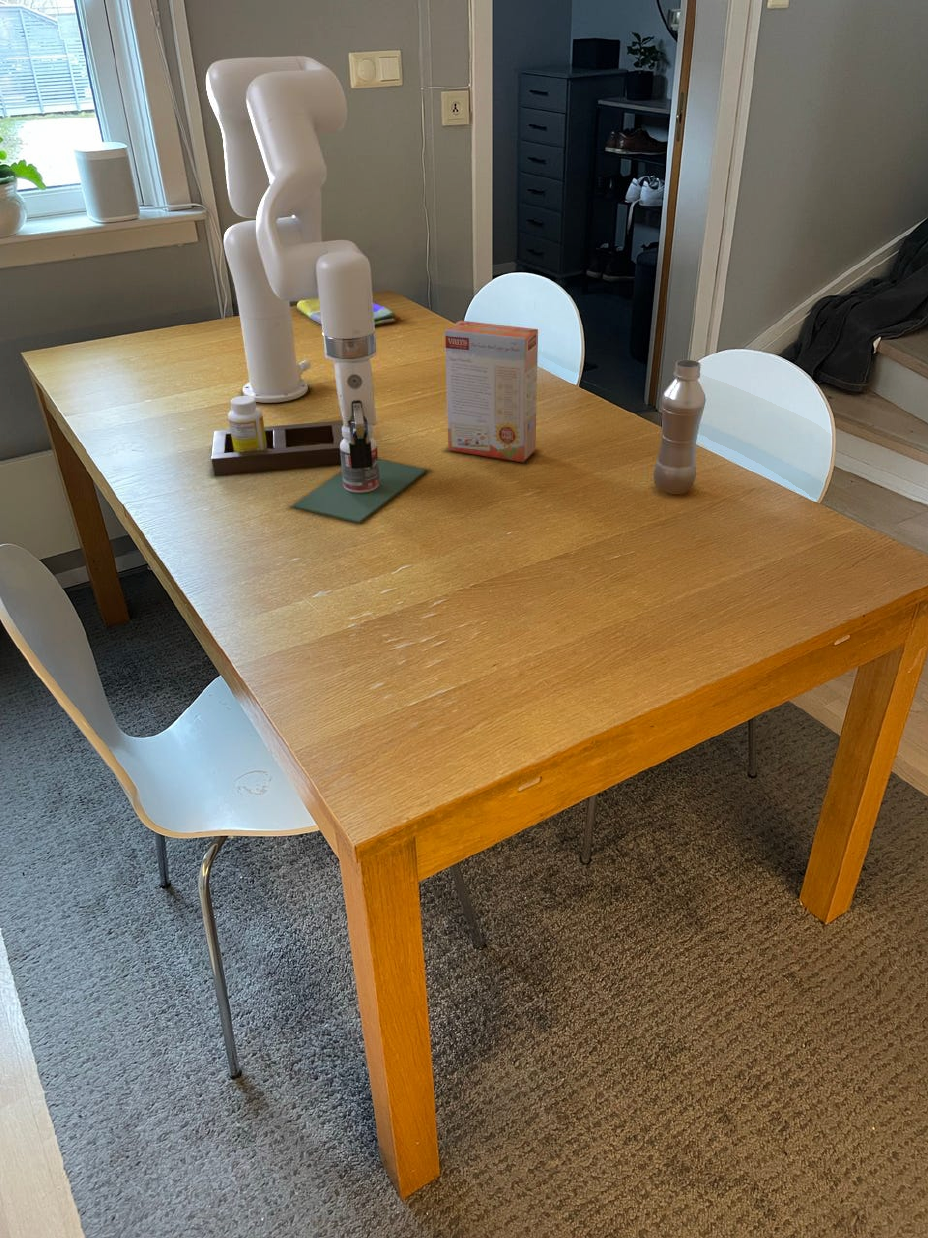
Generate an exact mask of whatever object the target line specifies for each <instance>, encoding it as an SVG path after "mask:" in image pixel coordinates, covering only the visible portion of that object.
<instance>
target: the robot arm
mask: <svg viewBox="0 0 928 1238" xmlns="http://www.w3.org/2000/svg"><path fill="white" fill-rule="evenodd" d="M205 86H206V92H207V97H208V100H209V103H210V106H211V108H212V110H213V112H214V115H215V117H216V119H217V121H218V124H219V127H220V130H221V134H222V139H223V140H222V141H223V151H224V152H223V153H224V163H225V176H226V185H227V195H228V199H229V203H230V206H231V208H232V210H233V212H234V213H235V214H236V215H237V216H240V217H242V218H246V219H254V220H246V221H241V222H238V223H235V224H233V225H231V226H230V227H229V228H228V229H226V231H225V233H224V236H223V248H224V254H225V257H226V261H227V264H228V267H229V271H230V274H231V278H232V282H233V285H234V290H235V291H234V292H235V296H236V300H237V306H238V307H237V308H238V315H239V320H240V326H241V333H242V340H243V347H244V353H245V361H246V367H247V374H248V381H249V382H246V384H245V385H243V387H242V394H243V395H242V396H251V397H253V398H255V402H256V403H262V404H275V403H284V402H285V403H286V402H289V401H293V400H296V399H299V398H301V397H302V396H304V395H306V394H307V393H308V390H309V387H308V383H307V381H305V379H303V378H302V375H303V373H305V372H307V371H309V370H311V367H312V365H311V362H310V361H309V360H307V359H305V360H302V361H301V362H299V363H298V360H297V351H296V344H295V336H294V327H293V318H292V311H291V310H292V309H291V303H290V302H299V301H301V300H308V299H315V298H319V304H320V313H321V323H322V325H321V332H322V342H323V353H324V358H325V359H327V360H329V361H332V362H333V366H334V367H333V368H334V369H333V370H334V377H335V386H336V393H337V400H338V404H339V410H340V413H341V418H342V421H343V425H344V426H346V427H347V428H349V432H350V441H351V443H349V449H350V460H351V468H352V469H358V468H369V467H372V465H373V464H372V451H371V441H369V433H368V424H369V425H372V427H375V426H376V425H377V423H378V422H377V414H376V413H377V411H376V403H375V391H374V379H373V370H372V363H371V359H372V358H374V357H375V356H376V355H377V352H378V351H377V340H376V329H375V326H376V325H374V311H373V302H374V298H373V295H374V294H373V282H372V270H371V263H370V260H369V258H368V257H367V256H366V255H365V254H363V252H362V251H361V250H360V249H359V247H358V246H357V244H356V243H354V242H353V241H351V240H348V239H337V240H335V239H333V240H325V241H323V232H322V231H323V228H322V225H323V224H322V223H323V221H322V218H323V217H322V186H323V185H324V184H325V182H326V180H327V176H328V169H327V164H326V163H325V159H324V156H323V152H322V150H321V146H320V144H319V140H318V137H317V135H329V134H337V133H339V132H341V131H342V130H343V128H344V127H345V126H346V123H347V118H348V103H347V98H346V94H345V91H344V89H343V86H342V84H341V82H340V80H339V79H338V77H337V76H336V74H335V73H334V72H333V71H332V70H331V69H330V68H329V67H327V66H326V65H324V64H323V63H321V62H319V61H318V60H316V59H314V58H312V57H308V56H303V55H295V56H291V55H289V56H288V55H287V56H268V57H267V56H266V57H264V56H256V57H255V56H252V57H236V58H226V59H220V60H217V61H214V62H213V63H211V64H210V66H209V67H208V68H207V71H206V76H205ZM351 422H355V423H351ZM367 422H368V423H367ZM353 429H355V430H356V431H354V433H353Z"/></svg>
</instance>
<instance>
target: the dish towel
mask: <svg viewBox="0 0 928 1238" xmlns="http://www.w3.org/2000/svg"><path fill="white" fill-rule="evenodd" d="M296 308H297V310H299V311H300V312H301V313H302V314H304V315H305V316H307V317H308V318H309V319H310V320H312V321H314V322H315V323H317V324H319V325H321V326H322V323H321V313H320V304H319V298H315V299H308V300H301V301H297V304H296ZM373 311H374V325H375V326H378V325H379V326H380V325H386V324H391V323H394V322H396V320H395V319H394V318H393V317H394V316H395V312H394V311H393V310H391V309H389V308H388V307H385V306H383V305H381V304H378V303H375V302H374V301H373Z"/></svg>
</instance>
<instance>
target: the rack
mask: <svg viewBox="0 0 928 1238" xmlns="http://www.w3.org/2000/svg"><path fill="white" fill-rule="evenodd" d="M343 425H344V422H343V419H341V420H329V421H316V422H303V423H294V424H280V425H279V424H278V425H267V426H264V429H265V435H266V442H267V449H266V450H255V451H243V452H234V447H233V442H232V436H231V430H230V429H221V430H214V433H213V439H212V440H213V441H212V449H211V465H212V470H213V475H214V476H215V477H216V476H227V475H238V474H240V475H241V474H249V473H260V472H273V471H282V470H294V469H307V468H317V467H327V466H328V467H329V466H337V465H338V466H339V465H342V464H341V453H340V443H341V441H342V440H343V439H344V437H343V436H342V426H343ZM329 442H333V443H329ZM318 443H326V444H318ZM306 444H308V445H306ZM309 444H313V445H309ZM296 445H301V446H296ZM302 445H303V446H302ZM288 446H290V447H288ZM271 447H273V448H271ZM229 451H231V452H229ZM232 451H233V452H232Z"/></svg>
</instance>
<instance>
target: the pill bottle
mask: <svg viewBox="0 0 928 1238" xmlns="http://www.w3.org/2000/svg"><path fill="white" fill-rule="evenodd" d="M351 423H355V422H351ZM367 423H368V422H367ZM354 431H356V430H355V429H353V433H354ZM368 433H369V441H371V451H372V464H373V465H372V467H369V468H358V469H352V468H351V460H350V449H349V443H351V441H350V432H349V428H347V427H346V426H344V424H343V426H342V436H343V437H344V439H343V440H342V441H341V443H340V453H341V464H340V465H341V472H342V475H343V485H344V487H345V489H346V490H348V491H350V492H354V493H366V492H370V491H373V490H375V489H376V488H377V487H378V486H379V468H378V459H379V455H378V445H377V441H376V440H375V439H376V438H374V437H372V436H373V435H374V429H373V425H369V424H368Z"/></svg>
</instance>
